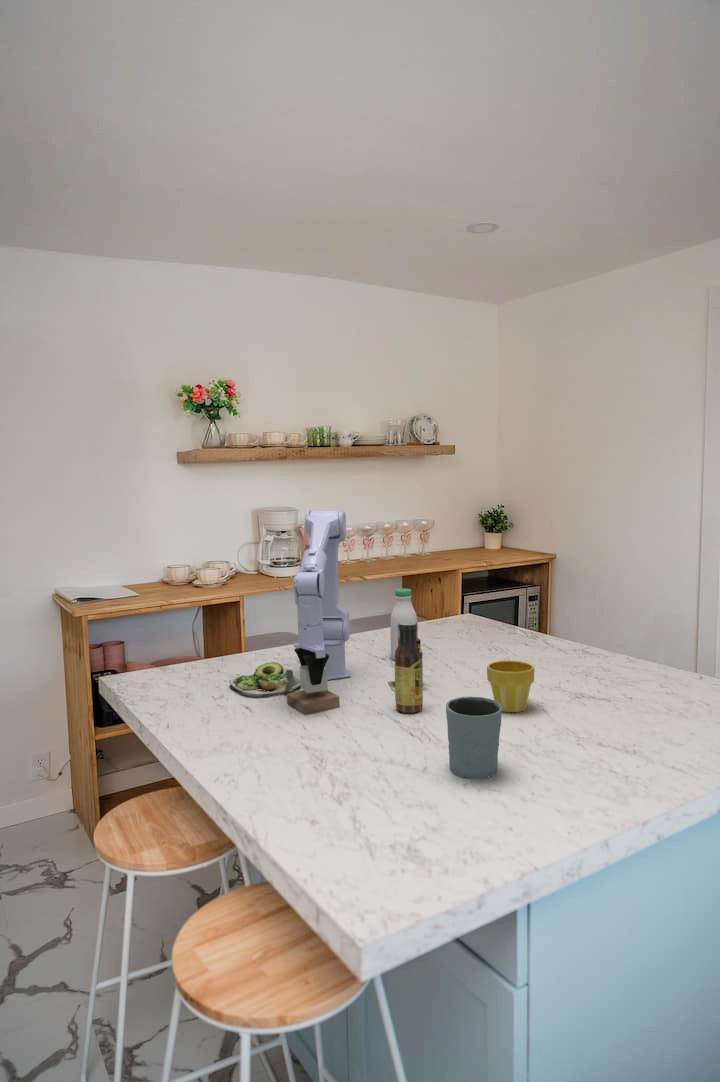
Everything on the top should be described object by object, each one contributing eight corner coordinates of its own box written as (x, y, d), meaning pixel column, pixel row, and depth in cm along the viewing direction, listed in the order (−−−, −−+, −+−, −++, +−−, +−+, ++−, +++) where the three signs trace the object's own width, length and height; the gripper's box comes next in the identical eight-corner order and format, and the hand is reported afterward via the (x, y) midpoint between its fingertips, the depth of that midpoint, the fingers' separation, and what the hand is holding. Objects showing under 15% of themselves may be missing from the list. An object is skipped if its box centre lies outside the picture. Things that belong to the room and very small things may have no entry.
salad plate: (319, 692, 180) (319, 673, 179) (252, 706, 171) (252, 687, 170) (286, 673, 196) (285, 657, 196) (223, 685, 187) (222, 668, 187)
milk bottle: (388, 661, 204) (386, 591, 202) (394, 654, 212) (393, 586, 209) (414, 663, 202) (413, 592, 200) (420, 655, 209) (419, 587, 207)
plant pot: (496, 697, 171) (496, 657, 170) (540, 704, 165) (540, 662, 164) (480, 711, 162) (480, 668, 161) (525, 718, 157) (525, 674, 156)
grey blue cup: (465, 753, 139) (464, 692, 138) (512, 766, 133) (512, 703, 131) (435, 771, 131) (434, 707, 130) (485, 786, 125) (484, 719, 123)
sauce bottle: (421, 715, 161) (419, 627, 158) (393, 713, 162) (391, 626, 160) (424, 705, 167) (423, 620, 165) (397, 704, 168) (396, 620, 166)
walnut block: (287, 706, 170) (286, 693, 170) (320, 698, 175) (320, 686, 175) (305, 717, 163) (304, 704, 162) (339, 708, 167) (339, 696, 167)
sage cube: (300, 687, 170) (299, 666, 169) (320, 684, 172) (320, 663, 171) (306, 693, 165) (306, 671, 165) (327, 690, 167) (327, 669, 166)
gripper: (284, 619, 172) (287, 675, 173) (302, 631, 158) (305, 692, 160) (313, 616, 174) (315, 671, 176) (333, 628, 161) (335, 687, 162)
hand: (312, 681), depth 168 cm, fingers closed on sage cube, 5 cm apart
